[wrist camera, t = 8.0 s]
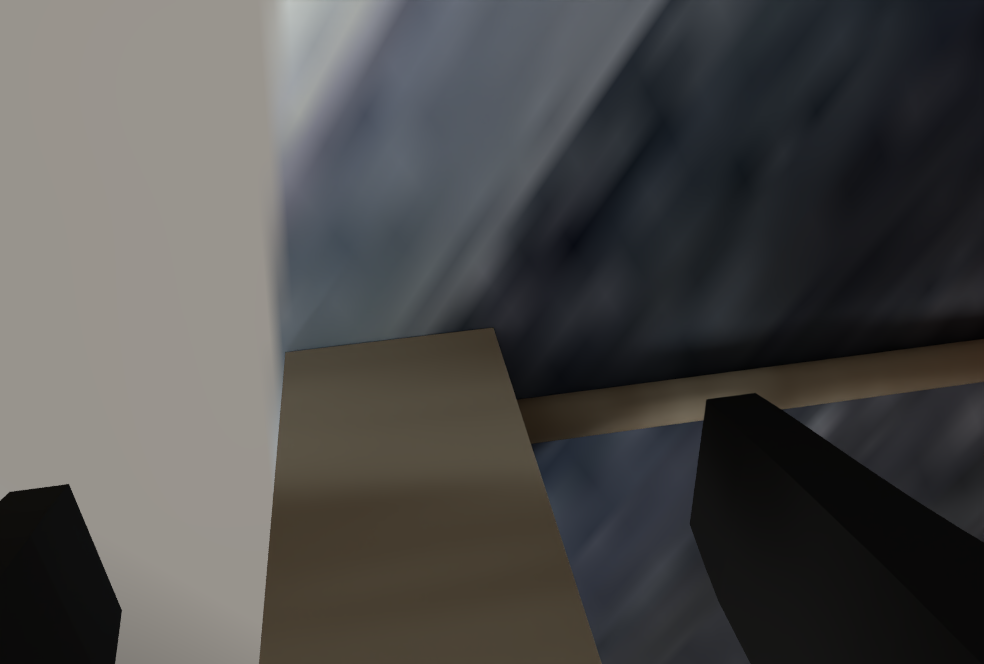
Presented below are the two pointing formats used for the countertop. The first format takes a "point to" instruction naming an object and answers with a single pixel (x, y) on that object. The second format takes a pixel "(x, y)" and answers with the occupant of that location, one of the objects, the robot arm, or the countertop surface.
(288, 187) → the countertop surface
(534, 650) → the corded block
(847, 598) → the robot arm
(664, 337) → the countertop surface
